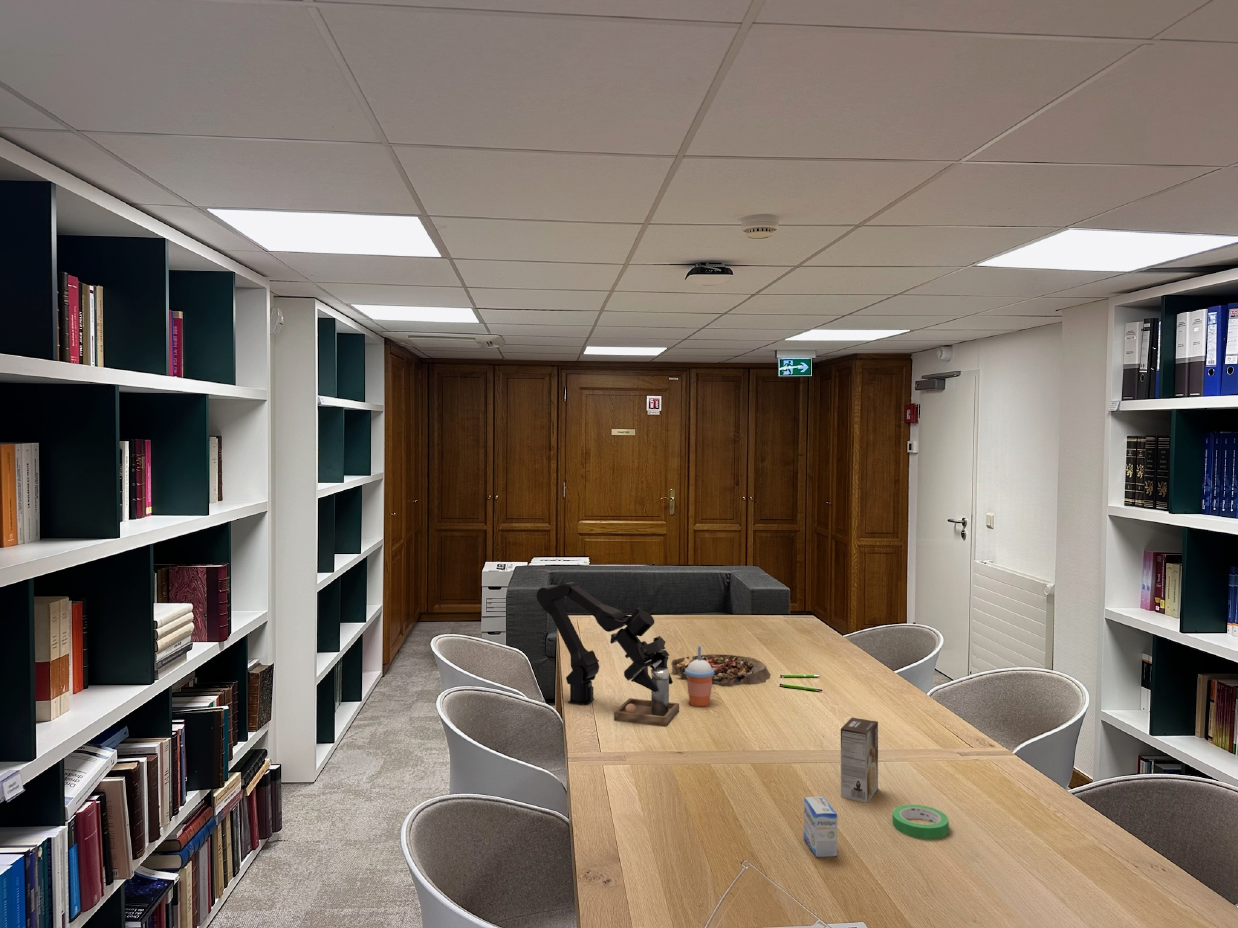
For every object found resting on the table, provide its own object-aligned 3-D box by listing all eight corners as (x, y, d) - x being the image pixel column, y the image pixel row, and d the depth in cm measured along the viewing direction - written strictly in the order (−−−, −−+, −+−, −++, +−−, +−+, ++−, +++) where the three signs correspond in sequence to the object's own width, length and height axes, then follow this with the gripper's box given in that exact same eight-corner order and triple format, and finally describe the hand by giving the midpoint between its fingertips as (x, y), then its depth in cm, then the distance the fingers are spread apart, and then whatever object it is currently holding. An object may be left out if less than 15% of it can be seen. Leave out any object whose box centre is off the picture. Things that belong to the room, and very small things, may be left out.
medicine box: (803, 838, 166) (803, 796, 166) (824, 837, 166) (824, 795, 166) (815, 857, 158) (815, 813, 158) (837, 856, 158) (837, 812, 158)
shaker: (651, 716, 238) (651, 672, 238) (650, 710, 244) (650, 667, 244) (669, 716, 238) (669, 672, 238) (668, 710, 244) (668, 667, 243)
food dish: (659, 685, 278) (658, 662, 278) (687, 662, 309) (687, 642, 309) (760, 692, 265) (759, 668, 265) (779, 668, 295) (778, 647, 296)
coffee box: (851, 783, 193) (851, 716, 193) (878, 788, 189) (878, 720, 189) (839, 797, 185) (840, 727, 185) (868, 803, 182) (868, 732, 181)
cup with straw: (712, 708, 248) (712, 650, 248) (683, 707, 250) (683, 649, 250) (715, 699, 257) (715, 643, 257) (686, 698, 259) (686, 642, 258)
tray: (614, 720, 238) (613, 711, 238) (629, 705, 251) (629, 697, 251) (666, 726, 233) (666, 717, 233) (679, 711, 246) (679, 703, 246)
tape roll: (883, 827, 171) (883, 815, 171) (907, 811, 178) (907, 799, 178) (934, 846, 163) (934, 833, 163) (957, 827, 171) (957, 815, 171)
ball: (623, 711, 239) (625, 701, 240) (626, 715, 241) (628, 705, 243) (633, 713, 238) (635, 702, 239) (636, 716, 240) (638, 706, 242)
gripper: (632, 635, 235) (666, 678, 229) (663, 623, 251) (695, 663, 245) (609, 658, 239) (642, 701, 233) (641, 645, 255) (672, 685, 249)
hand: (664, 687), depth 240 cm, fingers open, 9 cm apart
